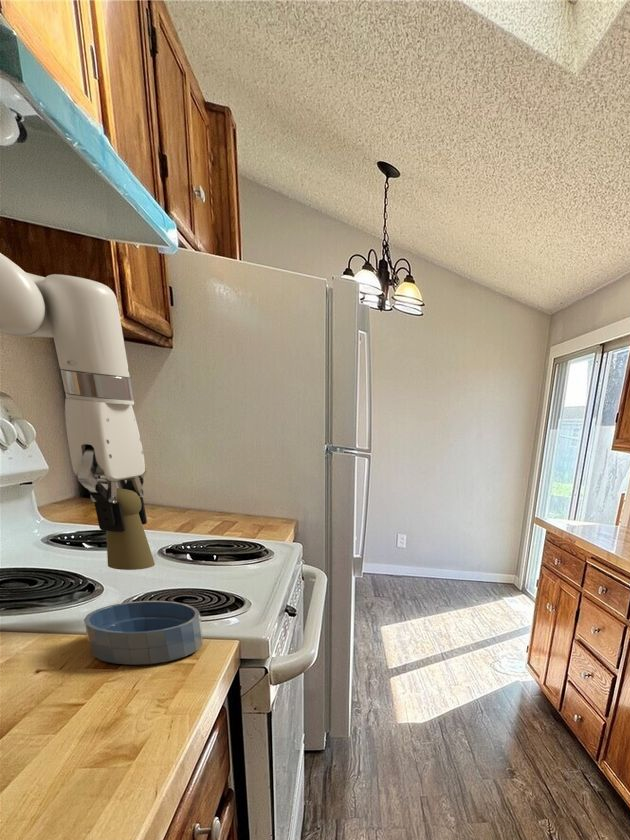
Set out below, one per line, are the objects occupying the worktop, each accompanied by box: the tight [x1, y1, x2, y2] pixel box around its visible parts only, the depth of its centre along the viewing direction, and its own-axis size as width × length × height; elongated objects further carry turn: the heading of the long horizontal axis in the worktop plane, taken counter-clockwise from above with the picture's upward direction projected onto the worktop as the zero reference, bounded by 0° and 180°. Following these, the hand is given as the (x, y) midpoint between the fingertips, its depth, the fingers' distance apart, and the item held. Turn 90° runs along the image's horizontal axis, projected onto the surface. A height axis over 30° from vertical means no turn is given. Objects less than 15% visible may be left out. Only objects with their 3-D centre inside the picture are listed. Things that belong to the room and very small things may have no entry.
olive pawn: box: [105, 487, 156, 571], centre depth 82 cm, size 6×6×11 cm
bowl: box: [83, 600, 204, 666], centre depth 79 cm, size 14×14×5 cm
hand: (124, 525), depth 82 cm, fingers closed on olive pawn, 5 cm apart
